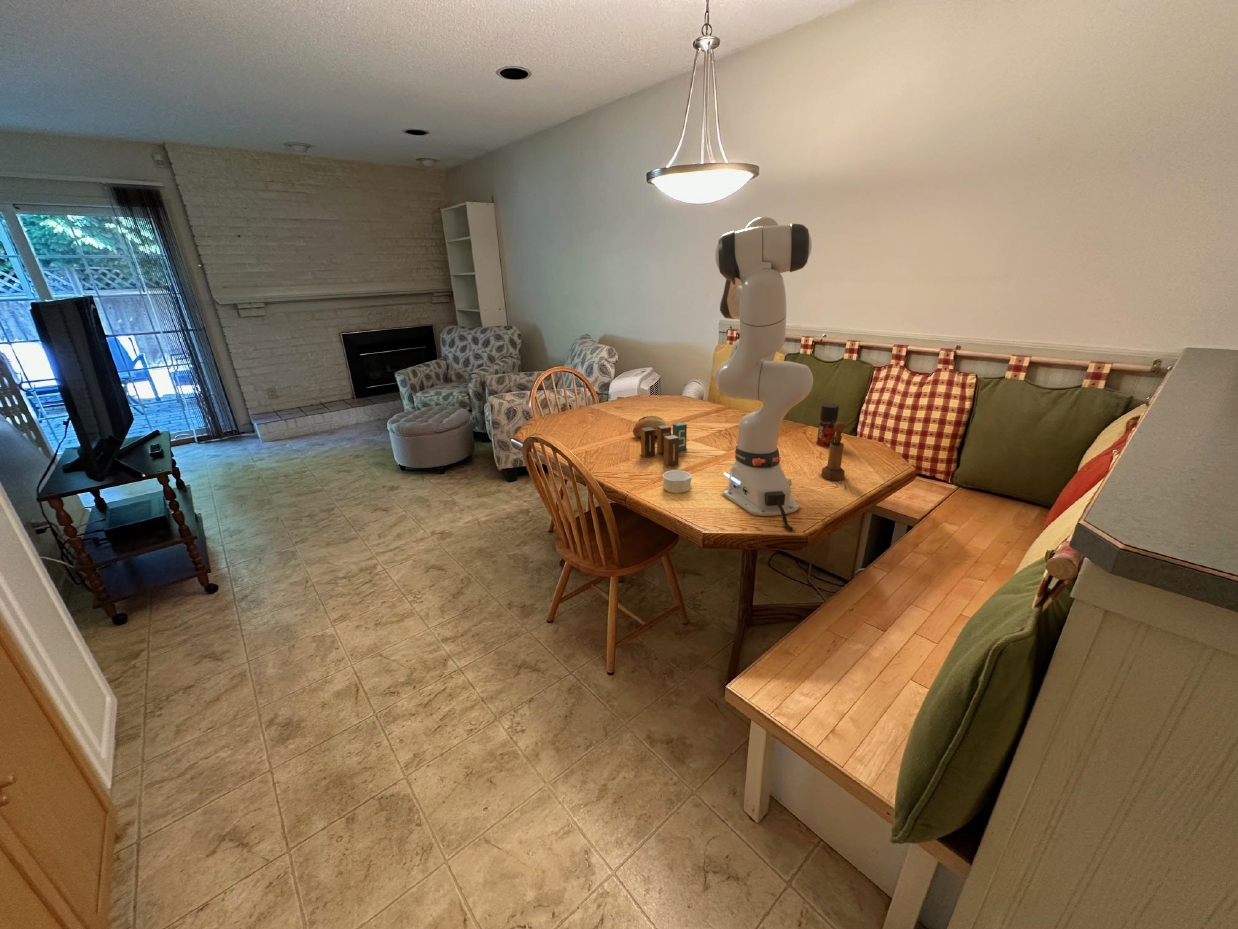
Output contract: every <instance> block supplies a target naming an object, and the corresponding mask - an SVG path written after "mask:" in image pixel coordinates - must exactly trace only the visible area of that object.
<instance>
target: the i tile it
mask: <svg viewBox="0 0 1238 929" xmlns="http://www.w3.org/2000/svg"><path fill="white" fill-rule="evenodd" d="M640 455H641V456H643V457H644V458H649V457H655V456H656V436H655V429H653V428H651V427H648V428H641V437H640Z"/></svg>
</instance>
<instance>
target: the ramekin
mask: <svg viewBox="0 0 1238 929" xmlns="http://www.w3.org/2000/svg"><path fill="white" fill-rule="evenodd" d="M692 477H693V476H692V474H691V473H690V472H688V471H686V470H682V469H672V470H667V471H665V472H664V473H663V474H662V481H663V488H664V490H665V491H667V492H668V493H672V494H673V493H674V494H681V493H686V492H687V491H689V490H690V488H691V482H692Z"/></svg>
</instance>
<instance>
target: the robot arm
mask: <svg viewBox="0 0 1238 929" xmlns="http://www.w3.org/2000/svg"><path fill="white" fill-rule="evenodd" d="M812 248H813V241H812V238H811V235H810V231H809V228H807V227H806V225H804V224H801V223H790V224H779V223H778V222H777V220H775V219H774V218H772V217H769V216H761V217H756V218H754V219H753V220H751V221H750V222H749V223H748V224H747V225H746V226H745V228H743V229H740V230H737V231H735V230H732V231H729V232H726V233H724V234H722V235H721V236H720V238H719V239H718V243H717V245H716V248H715V254H714V257H715V263H716V266H717V268H718V270H719V274H721V276H722V277H723V278H724V279H725V283H724V288H723V293H722V295H721V298H720V300H719V301H720V302H719V312H720V314H721V315H722V316H723V317H724V319H727V320H728V319H730V320H739V337H738V338H737V339H736V340H735V342H734V343H733V345H732V348H731V351H730V354H729V358H728V359H727V360H725V361H723V362H722V363H721V364H720V365H719V366H718V368H717V370H716V373H715V375H714V385H715V388H716V390H717V392H718V393H719V395H721V396H724V397H727V398H731V399H735V400H741V401H742V400H743V401H755V402H756V401H757V402H762V407H761V408H759V409H757V410H754V411H751V412H750V413H747V414H745V415H744V416H743V417H742V418H741V419H740V420H739V423H738V432H737V445H736V446H735V450H734V458H735V461H734V463H733V464H732V466H731V467H730V471H729V474H728V473H726V472H724V473H723V475H725V476H726V477H727V478H728V484H727V488H726V489H725V490H724V491H723V496H724V497H726V498H727V499H729V500H731V501H732V503H735V504H736V505H738V507H741V508H742V509H743V510H745V511H747V512H748V513H750V514H751V515H753V516H759V517H760V516H761V517H771V516H772V517H773V516H781V518H782V523H783V524H784V526H785V528H786V529H787V530H788V531H790V532H791V531H794V528H793V527H792V526H791V525H790V523H788V520H787V516H786V515H787V514H792V513H795V512H797V511H798V510H799V508H800V506H799V504H798V503H797V502H796V500H795V498H793V496H792V493H791V492H792V491H791V489H792V488H791V487H792V484H793V483H792V479H790V478H787V477H786V475H785V470H783V469H782V467H781V465H780V462H781V458H782V457H781V456H780V451H779V450H780V449H779V447H778V444H779V437H780V430H781V425H782V423H783V421H784V419H785V417H786V415H787V414H788V412H789V411H790V410H792V408H794V407H795V406H796V405H798V404H799V403H801V402H803V401H804V400H806V399H807V398H808V397H809V395H810V393H811V392H812V390H813V386H814V376H813V373H812V371H811V369H810V368H809V367H808V365H806V364H802V363H799V362H795V361H790V360H775V357H776V353H777V352H778V351H779V350H780V349H781V348H782V347H783V346H784V344H785V341H786V335H787V334H786V330H787V294H786V285H785V280H784V277H783V275H782V274H783V273H787V272H790V273H793V272H797V271H799V270H801V269H804V267H805V266H806V265H807V264H808V260H809V258H810V255H811V253H812Z"/></svg>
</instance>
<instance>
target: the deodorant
mask: <svg viewBox="0 0 1238 929" xmlns="http://www.w3.org/2000/svg"><path fill="white" fill-rule="evenodd" d="M839 411H840V405H839V404H837V403H829V402H828V403H822V404H821V407H820V416H819V422H818V430H817V436H816V437H817V438H816V445H817V446H819V447H823V448H830V443H831V442H835V441H834V436H835V435H836V431H835V429H834V425H835V423H837V422H838V418H839Z"/></svg>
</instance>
